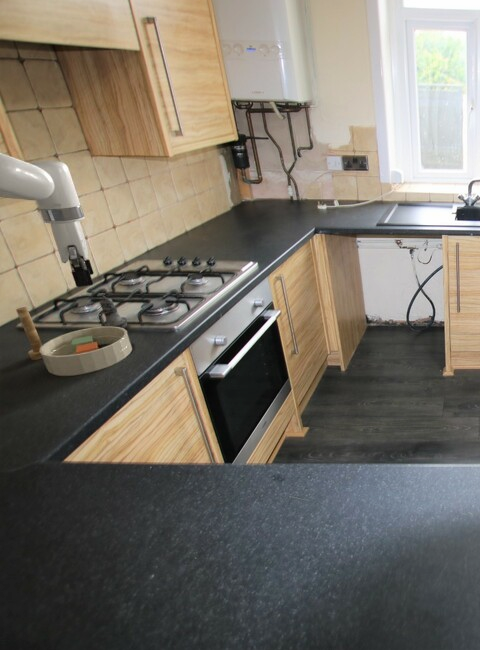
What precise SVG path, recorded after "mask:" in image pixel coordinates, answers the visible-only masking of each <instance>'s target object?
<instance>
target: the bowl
mask: <svg viewBox="0 0 480 650" xmlns="http://www.w3.org/2000/svg"><path fill="white" fill-rule="evenodd" d="M91 335H92V337H93V340H94V342H97V345H98V346H102V345H106V346H103V347H101V348H99V349H97V350H94V351H90V352H86V353H81V354H75V352H74V350H73V347H72V339H76V338H81V337H86V336H91ZM132 350H133V346H132V343H131V339H130V336H129V333H128V330H126V329H125V328H120V327H113V326H106V327H103V326H96V327H88V328H83V329H78V330H74V331H70V332H68V333H65V334H61V335H58V336H56V337H54V338H51V339H50V340H48V341H46V342H44V343H43V344H42V347H41V348H40V351H39V352H40V355H41V357H42V359H41V360H42V362H43V364H44V366H45V369H46V371H47V372H48V373H50V374H52V375H55V376H57V377H58V376H59V377H72V376H73V377H74V376H79V375H85V374H89V373H92V372H96V371H100V370H103V369H107V368H109V367H111V366H113V365H115V364H117V363H120V362H121V361H122V360H124V359H126V358H127V356H129V355H130V354H131V352H132Z"/></svg>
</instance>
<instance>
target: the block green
mask: <svg viewBox="0 0 480 650" xmlns="http://www.w3.org/2000/svg"><path fill="white" fill-rule="evenodd" d="M89 343H94V340H93V337H92V335H91V336H86V337H81V338H76V339H72V347H73V350H74V352H75V354H76V347H77V346H80V345H84V344H89Z"/></svg>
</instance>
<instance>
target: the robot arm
mask: <svg viewBox="0 0 480 650" xmlns="http://www.w3.org/2000/svg"><path fill="white" fill-rule="evenodd" d="M0 198H4V199H13V200H14V199H15V200H26V201H36V203H37V206H38V209H39V212H40V215H41V218H42V220H43V223H45V224H50V228H51V232H52V235H53V238H54V241H55V245H56V248H57V251H58V254H59V257H60V261H61V263H62V264H67V263H69V266H70V270H71V272H70V273H71V275H72V278H73V281H74V283H75V284H74V285H75V286H76V287H77V288H81V287H82V288H83V287H87V286H93V285H94V282H93V279H92V275H94V269H93V267H92V264H91V261H90V259H89V249H88V244H87V241H86V236H85V234H84V231H83V226H82V224H81V221H83V220H86V217H85V214H84V212H83V211H84V210H83V208H82V205H81V203H80V199H79V195H78V193H77V190H76V186H75V184H74V181H73V177H72V174H71V171H70V169H69V167H68V165H67V164H66V163H65V162H63V161H57V160H39V161H37V160H36V161H30V162H28V161H25V160H22V159H19V158H16V157H14V156H10V155H8V154H5V153H3V152H0Z"/></svg>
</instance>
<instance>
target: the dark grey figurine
mask: <svg viewBox="0 0 480 650" xmlns="http://www.w3.org/2000/svg"><path fill="white" fill-rule="evenodd" d="M99 305H100V307H101V310H102V311H101V313H102V314H103V315H104V317H105V321H104V322H102V323H101V327H106V326H113V327H120V328H124V329H125V328H126V327H127V325H128V318H127V317H123V316H120V315H119V312H118V308H117V307H116V306H115V303H114V301H113V299H112V298H110V297H106V296H105V295H102V299H100V300H99Z"/></svg>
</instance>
